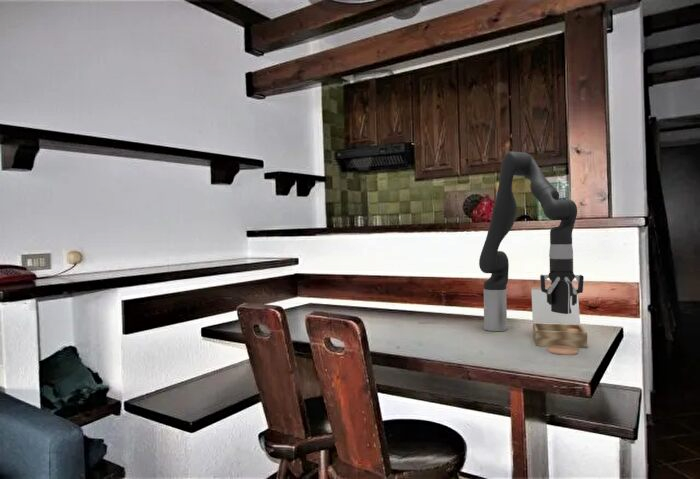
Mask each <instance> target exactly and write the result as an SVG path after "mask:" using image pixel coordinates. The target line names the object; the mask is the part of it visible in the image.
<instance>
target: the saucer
mask: <svg viewBox="0 0 700 479" xmlns="http://www.w3.org/2000/svg"><path fill="white" fill-rule="evenodd" d="M546 351H547V352H548V353H551V354H554V355H561V356H575V355H578V353H579V348H574V347H570V346H562V345H553V346H546Z"/></svg>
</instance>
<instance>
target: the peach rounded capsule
mask: <svg viewBox="0 0 700 479" xmlns="http://www.w3.org/2000/svg"><path fill="white" fill-rule="evenodd" d="M567 332H578V329H576V328H567Z"/></svg>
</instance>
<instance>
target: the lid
mask: <svg viewBox="0 0 700 479" xmlns="http://www.w3.org/2000/svg"><path fill="white" fill-rule="evenodd" d="M548 288H549V286H548V287H547V286H545V289H548ZM574 288H575V290H577V289H578V287H574ZM530 289H531V311H532V312H531V313H532V315H531V316H532V323H540V324H572V325H581V318H580V315H581V314H580V305H579V303H580V302H579V293H578V294H577V303H576V304H575V305H572V296H571V298H570V308H571V313H570V314H562V313H556V312H552V311H551V305H549V303H547V294H546V293H544V292H542V291H541V286H540V287H539V286H531V287H530Z"/></svg>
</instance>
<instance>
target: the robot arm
mask: <svg viewBox="0 0 700 479" xmlns="http://www.w3.org/2000/svg"><path fill="white" fill-rule="evenodd" d="M515 176H518V177H525V178H526V179H527V180H529V181H530V186H529V187H530V192H531V193H532V195H533V196H534V198H535V199H536V200H537V201H538V202H539V203H540V205H541V206H540V207H541V209H542V211H543V214H544V216H545V217H546V218H547V219H549V220H551V221H560V222H559V225H558V226H554V227H553V228H551V229H550V231H549V243H550V244H549V251H548V253H549V254H548V257H549V273H548V274H540V276H539V279H540V281H539V282H540V287H541V291H542V292H544V293H546V294H547V303H549V305H552V294H551V292H552V291H553V289H554V288H555V286H557V285H558V282H559V281H561V280H562V281H567V282H570V283H571V284H572V288H573V296H572V305H575V304H576V303H577V294H578V295H579V294H581V293H583V292H584V278H585V277H584V276H583V275H582V274H575V273H574V247H573V231H574V226H575V222H576V220H577V217H578V207H577V206H578V205H577V204H576V203H575V202H576V201H573V200H572V199H560V193H559V191H558V190H557V189H556V187H555V186H554V185H553V184H551V182H550V181H549V180H548V179H547V178H546V176H545V175H544V173H543V172H542V170H541V168H540V166H539V165H538V163H537V161H536V159H535V158H534V157H533V156H532V155H531V154H530V153H527V152H521V151H507V152H506V153H505V154H504V156H503V159H502V161H501V167H500V173H499V179H498V187H497V191H496V196H495V201H494V205H493V208H492V212H491V218H490V222H489V226H488V230H487V235H486V237H485V241H484V244H483V246H482V249H481V253H480V254H479V255H480V256H479V260H478V261H479V262H478V266H479V268H480V271H481V272H482V273H484V274H491V275H490V277H489V278H488V279H487V280H485V281H484V282H483V329H484V331H489V332H504V331H507V330H508V321H507V320H508V316H507V314H508V313H507V312H508V311H507V309H508V306H507V285H508V281H509V268H510V267H509V265H510V264H509V257H508V255H507V254H506V253H505V252H504V251H503V250H499V247H500V245H501V243H502V241H503V240H504V239H505V238H506V236H507V235H508V233H509V232H510V231H511V230H512V227H513V226H514V224H515V220H516V216H517V213H518V207H517V202H516V199H515V196H514V192H513V180H514V177H515ZM548 279H549V280H550V281H551V282H552V283H553V284H552V285H551V283H550V284H549V286H548V287H549V288H548V289H545V287H546V281H547V280H548ZM575 279H576V281H577V288H578V289H577V290H575V288H576V287H575V286H574V285H573V281H574V280H575Z"/></svg>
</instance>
